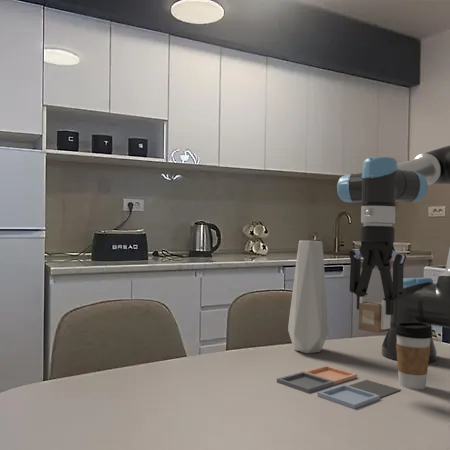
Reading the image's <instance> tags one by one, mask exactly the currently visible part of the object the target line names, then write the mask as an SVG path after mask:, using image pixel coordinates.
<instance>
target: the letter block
mask: <svg viewBox="0 0 450 450" xmlns="http://www.w3.org/2000/svg"><path fill="white" fill-rule="evenodd" d="M381 305H382V302H377V301H369V302H365V303H359V310H358V330H360V331H365V332H370V333H376V334H381V333H387V331H390V328H389V329H384V330H383V329H381V308H382V306H381Z"/></svg>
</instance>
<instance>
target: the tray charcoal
mask: <svg viewBox="0 0 450 450" xmlns="http://www.w3.org/2000/svg"><path fill="white" fill-rule="evenodd" d="M276 383H278V384H281V385H284V386H287V387H289V388H293V389H296V390H298V391H301V392H304V393H306V394H309V393H313V392H316V391H319V390H323V389H325V388H328V387H333V386H335V385H334V381H331V380H328V379H324V378H321V377H318V376H315V375H311V374H308V373H305V372H304V371H300V372H297V373H293V374H289V375H286V376H282V377H278V378H276Z"/></svg>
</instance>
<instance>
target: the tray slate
mask: <svg viewBox="0 0 450 450" xmlns="http://www.w3.org/2000/svg"><path fill="white" fill-rule="evenodd" d="M316 394H317V395H316V396H317V397H319V398H322V399H324V400H327V401H330V402H333V403H335V404H339V405H341V406H345V407H347V408H350V409H353V410H355V409H358V408H361V407H363V406H365V405H367V404H372V403H374V402H376V401H379V400H380V399H379V395H376V394H373V393H370V392H367V391H363V390H360V389H357V388H354V387H350V386H349V385H346V384H344V383H343V384H342V383H341V384H340V385H336V386H334V387H333V386H332V387H330V388H327V389H324V390H323V389H322V390H320V391H317V393H316Z"/></svg>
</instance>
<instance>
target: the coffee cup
mask: <svg viewBox="0 0 450 450" xmlns="http://www.w3.org/2000/svg"><path fill="white" fill-rule="evenodd" d="M432 326H433V325H431V324H428V323H421V322H405V323H397V324H396V329H395V334H396V335H397V342H396V349H397V360H396V363H397V374H398V385H399V386H401V387H403V388H404V389H405V388H406V389H410V390H411V389H412V390H423V389H424V390H425V389H426V383H427V377H428V375H427V374H428V370H429V369H428V368H429V363H430V362H429V355H430V347H431V346H430V339H431V338H433V334H434V333H433V327H432Z"/></svg>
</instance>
